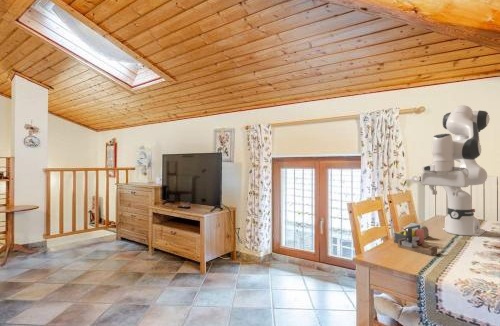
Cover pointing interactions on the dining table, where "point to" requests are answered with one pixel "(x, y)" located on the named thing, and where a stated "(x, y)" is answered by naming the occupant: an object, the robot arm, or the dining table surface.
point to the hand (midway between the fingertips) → (444, 195)
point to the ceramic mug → (420, 228)
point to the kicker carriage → (413, 238)
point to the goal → (400, 234)
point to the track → (419, 248)
